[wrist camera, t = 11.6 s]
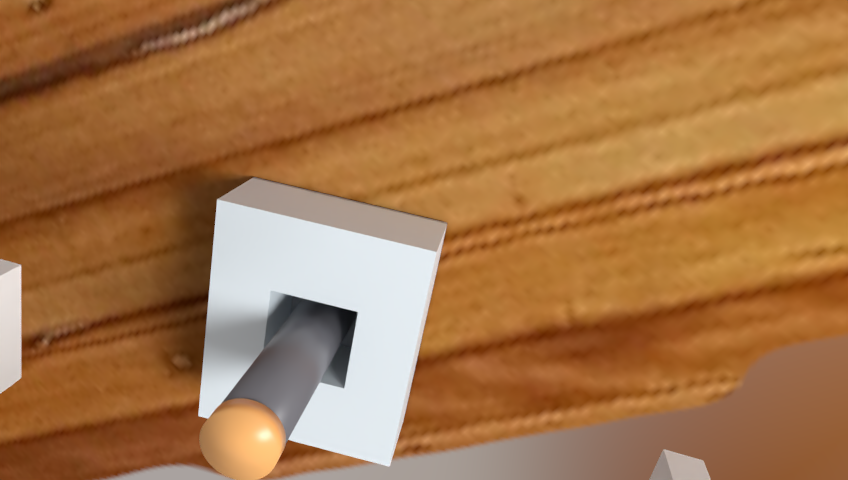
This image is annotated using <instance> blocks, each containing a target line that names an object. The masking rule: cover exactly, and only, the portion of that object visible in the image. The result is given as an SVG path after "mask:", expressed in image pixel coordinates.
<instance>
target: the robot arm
mask: <svg viewBox="0 0 848 480" xmlns="http://www.w3.org/2000/svg"><path fill="white" fill-rule="evenodd" d="M20 378H21V265H20V264H16V263H13V262H9V261H6V260H2V259H0V393H2V392H3V391H4V390H6V389H7V388H8V387H10V386H11V385H12V384H14V383H15V382H16V381H18V380H19V379H20ZM649 480H710V477H709V474H708V472H707V469H706V466H705V464H704V461H703V460H700V459H696V458H692V457H689V456H686V455H682V454H679V453H675V452H672V451H668V450H665V449H664V450H663V452H662V454H661V456H660V458H659V460H658V462H657V465H656V467H655V469H654V471H653V473H652V475H651V477H650V479H649Z"/></svg>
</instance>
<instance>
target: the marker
mask: <svg viewBox="0 0 848 480" xmlns="http://www.w3.org/2000/svg"><path fill="white" fill-rule="evenodd" d="M356 313H357V312H356V311H352V310H348V309H344V308H340V307H336V306H332V305H328V304H324V303H320V302H316V301H312V300H307V299H302V300H301V301H300V303H299V304H298V305H297V306H296V308H295V309H294V310H293V312H292V313H291V314H290V316H289V317H288V318H287V319H286V321H285V322H284V323H283V325H282V326H281V327H280V328H279V330H278V331H277V332H276V334H275V335H274V336H273V337H272V339H271V340H270V341H269V343H268V344H267V345H266V347H265V348H264V349H263V350H262V352H261V353H260V354H259V356H258V357H257V358H256V359H255V361H254V362H253V363H252V365H251V366H250V367H249V368H248V370H247V371H246V372H245V374H244V375H243V376H242V377H241V379H240V380H239V381H238V383H237V384H236V385H235V387H234V388H233V389H232V390H231V392H230V393H229V394H228V396H227V397H226V398H225V399H224V401H223V402H222V403H221V404H220V405H219V406H218V407H217V408H216V409H215V411H214V412H213V413H212V414H211V416H210V417H209V418H208V419H207V421H206V422H205V423H204V425H203V427H202V428H201V431H200V436H199V441H200V447H201V450H202V453H203V455H204V457H205V458H206V460H207V461H208V462H209V464H210V465H211V466H212V467H213V468H215V469H216V470H217V471H218V472H220V473H221V474H223V475H225V476H227V477H229V478H232V479H236V480H257V479H260V478H262V477H264V476H266V475H267V474H269V473H270V472H271V471H272V469H273V468H274V466H275V465H276V463H277V461H278V459H279V457H280V456H281V454H282V452H283V450H284V448H285V444H286V442H287V441H288V439H289V437H290V435H291V433H292V432H293V430H294V428H295V426H296V424H297V423H298V421H299V419H300V417H301V415H302V414H303V412H304V410H305V408H306V406H307V404H308V403H309V401H310V399H311V397H312V395H313V394H314V392H315V390H316V388H317V386H318V385H319V383H320V381H321V379H322V377H323V376H324V374H325V372H326V370H327V368H328V367H329V365H330V363H331V361H332V359H333V357H334V356H335V354H336V352H337V350H338V348H339V347H340V345H341V343H342V341H343V339H344V338H345V336H346V334H347V332H348V330H349V329H350V327H351V325H352V323H353V321H354V320H355V317H356Z"/></svg>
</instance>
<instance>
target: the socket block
mask: <svg viewBox="0 0 848 480" xmlns="http://www.w3.org/2000/svg"><path fill="white" fill-rule="evenodd" d="M446 228H447V223H446V222H442V221H438V220H434V219H429V218H425V217H421V216H417V215H412V214H408V213H404V212H400V211H396V210H391V209H387V208H383V207H379V206H374V205H370V204H366V203H362V202H357V201H353V200H349V199H345V198H340V197H336V196H332V195H328V194H324V193H319V192H315V191H311V190H307V189H302V188H298V187H294V186H290V185H285V184H281V183H277V182H273V181H268V180H264V179H260V178H256V177H253V178H252V179H250V180H248V181H247V182H245V183H243V184H242V185H240V186H238V187H237V188H235V189H233V190H232V191H230V192H228V193H227V194H225V195H223V196H222V197H220V198H219V199H217V206H216V218H215V229H214V241H213V253H212V264H211V276H210V287H209V299H208V310H207V322H206V334H205V345H204V357H203V368H202V380H201V391H200V403H199V414H198V416H201V417H204V418H209V417H210V416H211V414H212V413H213V412H214V411H215V409H216V408H217V407H218V406H219V405H220V404H221V403H222V402H223V401H224V399H225V398H226V397H227V396H228V394H229V393H230V392H231V390H232V389H233V388H234V387H235V385H236V384H237V383H238V381H239V380H240V379H241V377H242V376H243V375H244V374H245V372H246V371H247V370H248V368H249V367H250V366H251V365H252V363H253V362H254V361H255V359H256V358H257V357H258V356H259V354H260V353H261V352H262V350H263V349H264V348H265V347H266V345H267V344H268V343H269V341H270V340H271V339H272V337H273V336H274V335H275V334H276V332H277V331H278V330H279V328H280V327H281V326H282V325H283V323H284V322H285V321H286V319H287V318H288V317H289V316H290V314H291V313H292V312H293V310H294V309H295V308H296V306H297V305H298V304H299V303H300V301H301V300H302V299H307V300H312V301H316V302H320V303H324V304H328V305H332V306H336V307H340V308H344V309H348V310H352V311H356V312H357V313H356V317H355V320H354V321H353V323H352V325H351V327H350V329H349V330H348V332H347V334H346V336H345V338H344V339H343V341H342V343H341V345H340V347H339V348H338V350H337V352H336V354H335V356H334V357H333V359H332V361H331V363H330V365H329V367H328V368H327V370H326V372H325V374H324V376H323V377H322V379H321V381H320V383H319V385H318V386H317V388H316V390H315V392H314V394H313V395H312V397H311V399H310V401H309V403H308V404H307V406H306V408H305V410H304V412H303V414H302V415H301V417H300V419H299V421H298V423H297V424H296V426H295V428H294V430H293V432H292V433H291V435H290V437H289V439H288V440H291V441H295V442H299V443H302V444H306V445H310V446H314V447H318V448H321V449H325V450H329V451H333V452H336V453H340V454H344V455H348V456H351V457H355V458H359V459H363V460H367V461H370V462H374V463H378V464H382V465H385V466H390V464H391V460H392V457H393V454H394V450H395V447H396V444H397V440H398V437H399V434H400V430H401V427H402V424H403V420H404V417H405V412H406V408H407V403H408V399H409V394H410V390H411V385H412V381H413V376H414V372H415V367H416V363H417V358H418V354H419V349H420V345H421V340H422V336H423V331H424V327H425V322H426V318H427V313H428V309H429V304H430V300H431V295H432V291H433V286H434V282H435V277H436V273H437V268H438V264H439V259H440V255H441V250H442V246H443V241H444V237H445V232H446Z"/></svg>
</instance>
